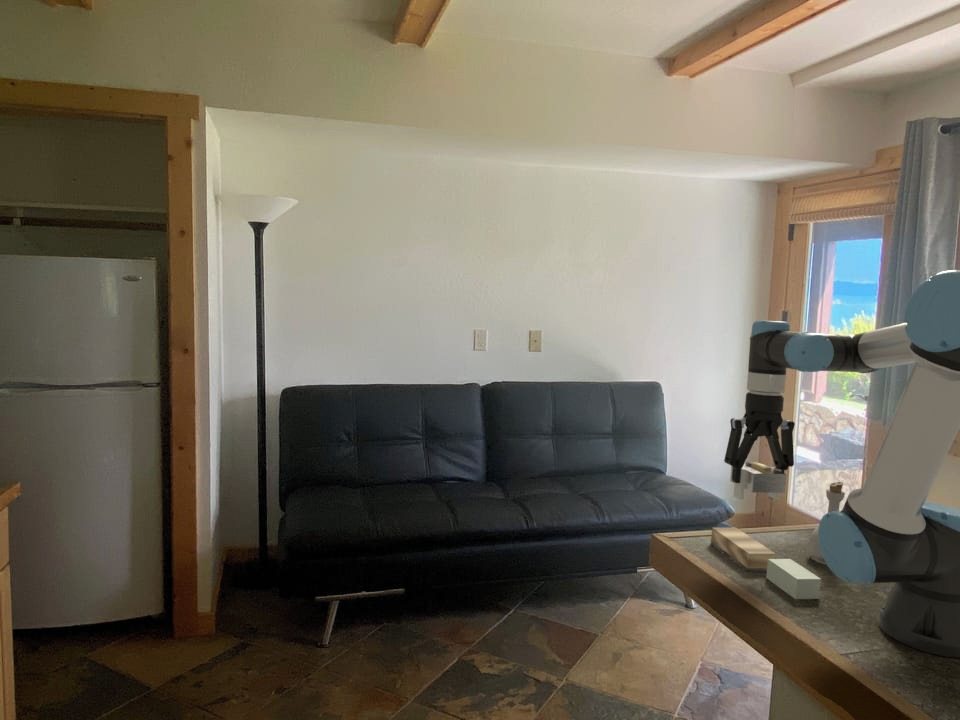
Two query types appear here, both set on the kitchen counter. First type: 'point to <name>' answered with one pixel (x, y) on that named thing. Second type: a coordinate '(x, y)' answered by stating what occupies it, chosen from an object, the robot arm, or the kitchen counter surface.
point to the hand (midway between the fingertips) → (756, 497)
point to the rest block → (793, 579)
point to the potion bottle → (834, 501)
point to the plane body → (742, 549)
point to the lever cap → (763, 478)
